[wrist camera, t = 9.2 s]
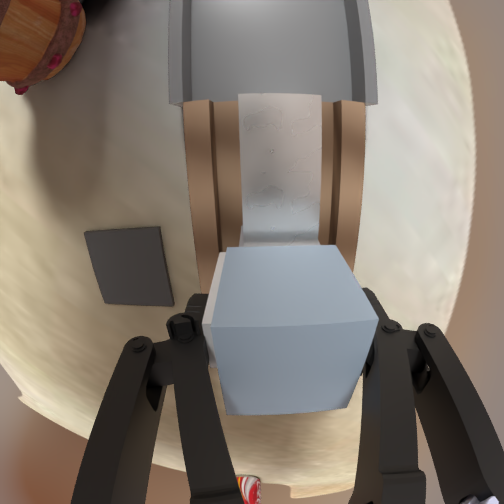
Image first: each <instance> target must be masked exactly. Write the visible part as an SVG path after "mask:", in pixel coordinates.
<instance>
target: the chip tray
mask: <svg viewBox="0 0 504 504" xmlns="http://www.w3.org/2000/svg"><path fill="white" fill-rule="evenodd" d="M168 75H169V104H172V105H176V106H180V107H183V102H189V101H197V100H207V99H209V100H211V101H212V102H224V101H238V94H246V93H293V94H313V95H321V102H336V101H340V100H347V101H355V102H363V103H365V106H369V105H376V104H378V94H377V73H376V59H375V48H374V39H373V31H372V23H371V16H370V10H369V4H368V0H170V8H169V38H168Z"/></svg>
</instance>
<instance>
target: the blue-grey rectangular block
mask: <svg viewBox="0 0 504 504" xmlns="http://www.w3.org/2000/svg"><path fill="white" fill-rule="evenodd" d="M378 321H379V318H378V316H377V315H376V313H375V311H374V309H373V307H372V306H371V304H370V302H369V300H368V298H367V297H366V295H365V293H364V291H363V290H362V288H361V286H360V285H359V283H358V281H357V279H356V278H355V276H354V274H353V273H352V271H351V269H350V268H349V266H348V264H347V263H346V261H345V259H344V258H343V256H342V255H341V253H340V251H339V250H338V248H337V247H336V245H320V243H319V241H318V245H304V246H257V247H244V235H243V225H242V226H241V234H240V241H239V247H227V250H226V255H225V259H224V264H223V269H222V274H221V278H220V283H219V288H218V293H217V298H216V303H215V307H214V312H213V317H212V322H211V333H212V339H213V345H214V351H215V356H216V362H217V368H218V373H219V378H220V384H221V389H222V394H223V399H224V404H225V409H226V414H227V415H278V414H295V413H308V412H318V411H326V410H334V409H342V408H347V406H348V403H349V401H350V399H351V396H352V394H353V392H354V389H355V387H356V384H357V382H358V379H359V377H360V374H361V371H362V369H363V366H364V363H365V360H366V358H367V355H368V352H369V349H370V346H371V343H372V340H373V337H374V334H375V331H376V327H377V324H378Z"/></svg>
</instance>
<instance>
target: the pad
mask: <svg viewBox="0 0 504 504" xmlns="http://www.w3.org/2000/svg"><path fill="white" fill-rule="evenodd" d="M84 235H85V239H86V243H87V247H88V251H89V255H90V258H91V262H92V265H93V269H94V272H95V275H96V278H97V282H98V285H99V288H100V291H101V294H102V297H103V300H104V302H105V303H107V304H124V305H145V306H174V299H173V294H172V290H171V285H170V280H169V275H168V270H167V265H166V259H165V254H164V248H163V242H162V236H161V230H160V227H144V228H127V229H112V230H98V231H86V232H85V233H84Z"/></svg>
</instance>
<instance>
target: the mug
mask: <svg viewBox="0 0 504 504" xmlns="http://www.w3.org/2000/svg"><path fill="white" fill-rule="evenodd" d="M85 25H86V19H85V12H84V10H83V8H82V4H81V3H80V2H79V1H78V0H0V81H6V82H7V84H9V85H10V86H12V87H14V88H15V93H16V94H18V95H23V94H24V93H25V92H26V91H27V90H28V87H29V86H31V85H34V84H36V83H38V82H40V81H41V80H48V79H50V78H51V77H53V76H54V75H56V74H57V73H58V72H59V71H60V70H62V69H63V68H64V66H65V65H66V64H67V63H68V62H69V61H70V60H71V58H72V56H73V54H74V53H75V51H76V50H77V48H78V46H79V44H80V43H81V41H82V37H83V34H84V31H85Z"/></svg>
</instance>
